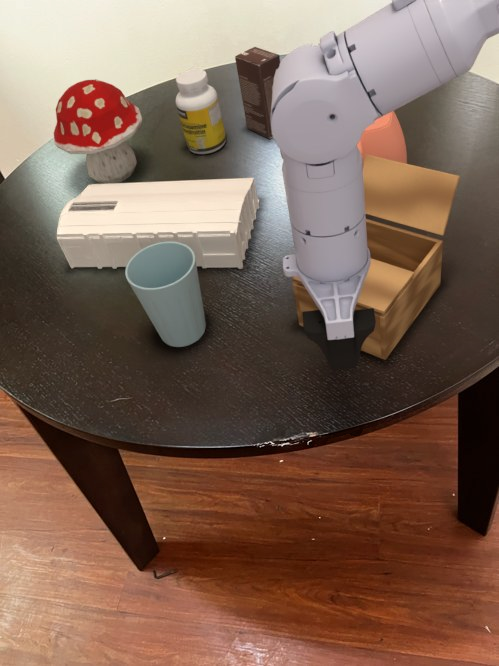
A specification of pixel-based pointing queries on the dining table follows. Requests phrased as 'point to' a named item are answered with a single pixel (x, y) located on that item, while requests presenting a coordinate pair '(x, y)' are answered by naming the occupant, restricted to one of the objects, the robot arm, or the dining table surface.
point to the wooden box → (390, 283)
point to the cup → (169, 291)
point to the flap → (408, 194)
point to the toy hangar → (159, 221)
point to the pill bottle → (199, 112)
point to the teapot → (384, 140)
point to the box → (257, 87)
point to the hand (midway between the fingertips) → (340, 334)
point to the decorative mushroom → (98, 129)
